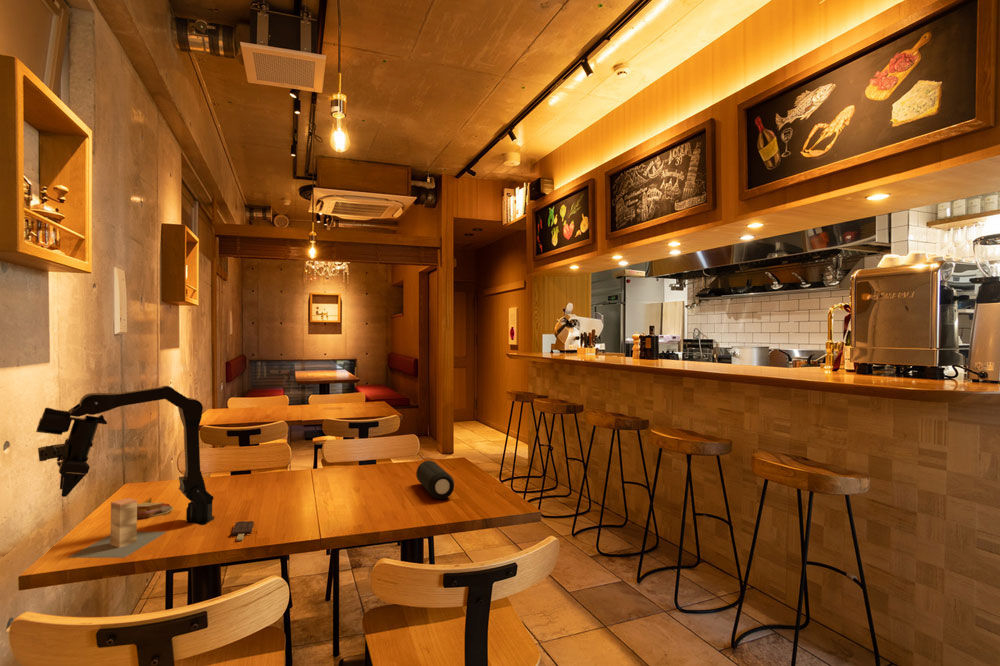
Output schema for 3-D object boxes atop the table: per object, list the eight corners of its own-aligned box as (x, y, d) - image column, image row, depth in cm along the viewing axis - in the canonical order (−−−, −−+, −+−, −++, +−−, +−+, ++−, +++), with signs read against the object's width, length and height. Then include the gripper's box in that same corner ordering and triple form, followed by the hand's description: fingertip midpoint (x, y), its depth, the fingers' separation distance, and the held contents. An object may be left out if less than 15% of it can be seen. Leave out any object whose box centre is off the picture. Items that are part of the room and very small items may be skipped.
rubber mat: (167, 533, 162) (167, 531, 162) (124, 559, 143) (124, 557, 143) (116, 533, 162) (116, 531, 162) (67, 559, 143) (67, 557, 143)
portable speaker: (455, 499, 200) (456, 472, 200) (429, 502, 196) (430, 475, 196) (438, 482, 224) (438, 458, 224) (414, 484, 220) (414, 460, 220)
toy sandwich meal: (181, 510, 185) (182, 496, 185) (146, 523, 172) (146, 508, 172) (153, 506, 188) (153, 493, 188) (116, 519, 175) (116, 504, 175)
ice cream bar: (249, 541, 158) (253, 525, 172) (249, 536, 158) (254, 519, 172) (229, 543, 156) (235, 526, 170) (229, 538, 156) (235, 521, 170)
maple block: (127, 539, 156) (128, 498, 156) (136, 542, 154) (137, 500, 154) (110, 544, 152) (111, 502, 152) (119, 547, 150) (120, 504, 150)
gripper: (44, 428, 155) (25, 483, 152) (46, 438, 141) (25, 498, 138) (91, 434, 162) (74, 486, 160) (97, 443, 148) (78, 501, 146)
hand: (62, 492), depth 151 cm, fingers open, 9 cm apart
